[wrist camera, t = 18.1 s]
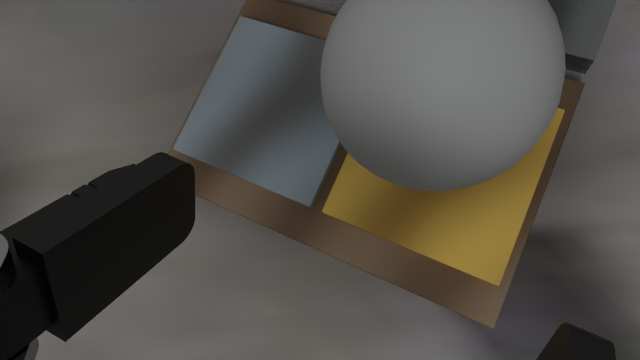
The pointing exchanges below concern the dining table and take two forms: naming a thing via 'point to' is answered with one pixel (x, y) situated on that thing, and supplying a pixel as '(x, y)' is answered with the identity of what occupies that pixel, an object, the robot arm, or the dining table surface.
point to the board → (352, 172)
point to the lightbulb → (442, 86)
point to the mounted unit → (582, 29)
